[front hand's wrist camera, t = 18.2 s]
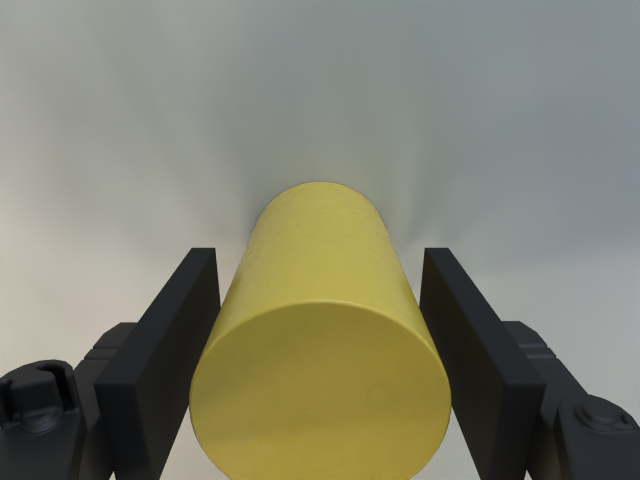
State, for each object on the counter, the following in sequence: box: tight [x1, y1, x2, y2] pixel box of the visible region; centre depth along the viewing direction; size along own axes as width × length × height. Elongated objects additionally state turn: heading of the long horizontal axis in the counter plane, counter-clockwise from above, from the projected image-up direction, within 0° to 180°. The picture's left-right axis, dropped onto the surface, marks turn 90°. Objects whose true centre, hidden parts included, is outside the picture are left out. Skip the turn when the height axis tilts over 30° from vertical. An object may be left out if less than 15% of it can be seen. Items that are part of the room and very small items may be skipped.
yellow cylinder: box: [189, 182, 451, 480], centre depth 13 cm, size 5×5×9 cm
